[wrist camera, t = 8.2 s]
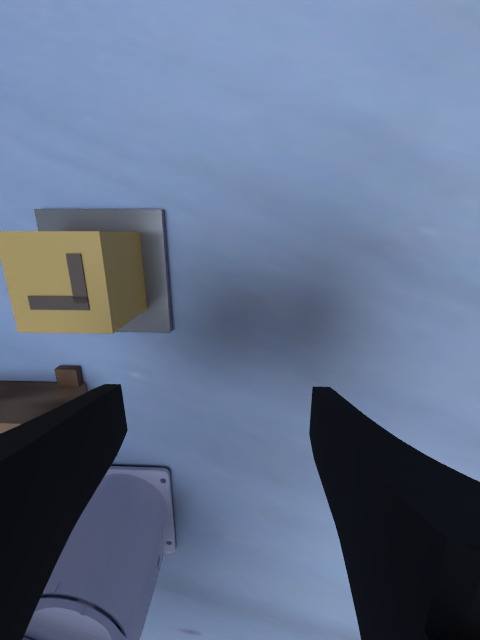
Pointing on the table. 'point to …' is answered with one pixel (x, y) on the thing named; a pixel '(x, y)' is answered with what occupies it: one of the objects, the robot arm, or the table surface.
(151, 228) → the coaster
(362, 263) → the table surface
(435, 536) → the robot arm
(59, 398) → the wooden board
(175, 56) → the table surface
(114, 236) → the cube
